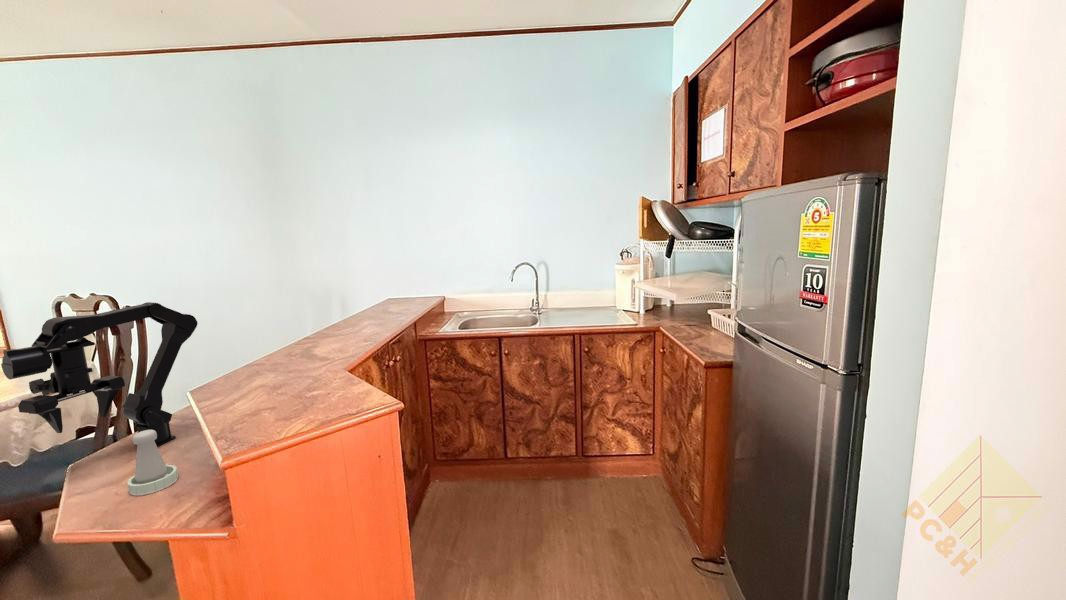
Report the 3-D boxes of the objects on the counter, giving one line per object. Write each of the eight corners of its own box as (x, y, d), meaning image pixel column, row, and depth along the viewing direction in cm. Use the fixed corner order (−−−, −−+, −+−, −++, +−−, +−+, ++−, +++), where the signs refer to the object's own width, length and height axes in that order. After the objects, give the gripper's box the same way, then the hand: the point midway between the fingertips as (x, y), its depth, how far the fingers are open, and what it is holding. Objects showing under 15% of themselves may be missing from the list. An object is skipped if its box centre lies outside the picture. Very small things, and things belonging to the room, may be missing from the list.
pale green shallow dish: (158, 473, 107) (156, 463, 106) (187, 475, 105) (185, 466, 105) (119, 493, 98) (117, 484, 98) (149, 497, 97) (148, 487, 96)
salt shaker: (149, 490, 98) (140, 438, 96) (129, 488, 99) (120, 437, 97) (174, 476, 104) (166, 427, 102) (155, 474, 105) (147, 426, 103)
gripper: (90, 355, 116) (100, 408, 119) (-6, 377, 98) (8, 439, 101) (122, 356, 114) (132, 410, 117) (30, 379, 96) (44, 443, 99)
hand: (82, 424), depth 108 cm, fingers open, 9 cm apart
